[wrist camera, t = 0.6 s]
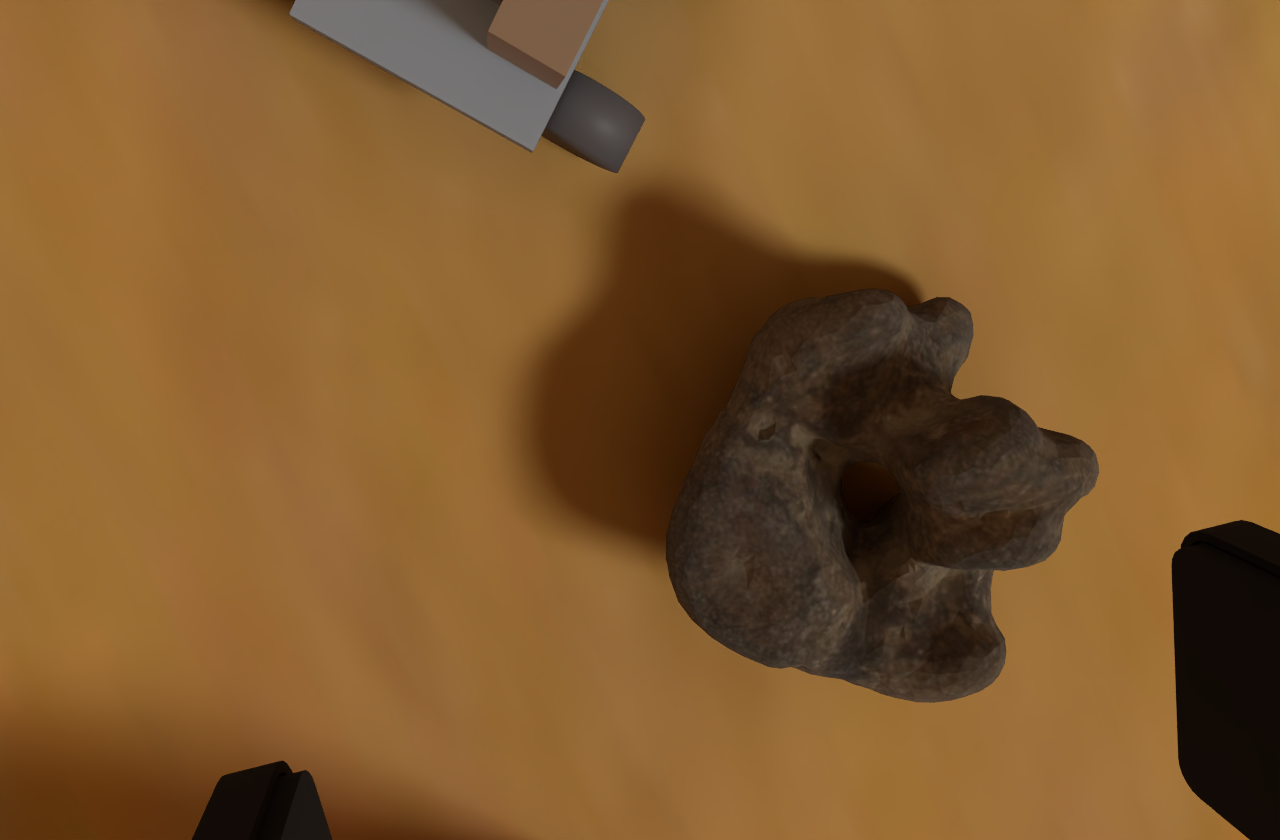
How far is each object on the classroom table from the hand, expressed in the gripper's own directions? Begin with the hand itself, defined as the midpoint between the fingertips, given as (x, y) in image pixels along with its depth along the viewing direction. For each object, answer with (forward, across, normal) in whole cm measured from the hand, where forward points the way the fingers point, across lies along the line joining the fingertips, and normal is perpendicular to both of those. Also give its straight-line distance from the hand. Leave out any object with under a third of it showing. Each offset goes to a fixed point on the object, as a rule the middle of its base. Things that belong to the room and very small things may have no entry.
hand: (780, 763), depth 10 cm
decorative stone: (+28, -9, +7) cm, 30 cm away
